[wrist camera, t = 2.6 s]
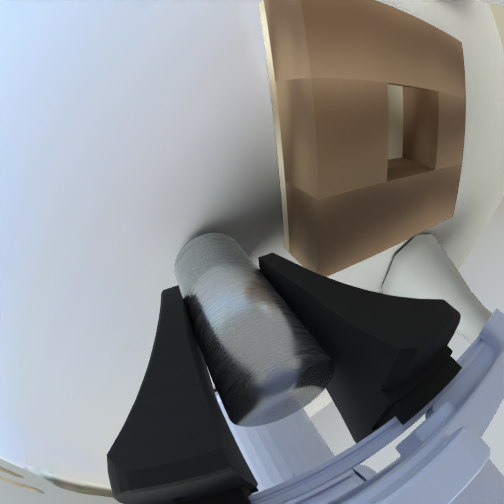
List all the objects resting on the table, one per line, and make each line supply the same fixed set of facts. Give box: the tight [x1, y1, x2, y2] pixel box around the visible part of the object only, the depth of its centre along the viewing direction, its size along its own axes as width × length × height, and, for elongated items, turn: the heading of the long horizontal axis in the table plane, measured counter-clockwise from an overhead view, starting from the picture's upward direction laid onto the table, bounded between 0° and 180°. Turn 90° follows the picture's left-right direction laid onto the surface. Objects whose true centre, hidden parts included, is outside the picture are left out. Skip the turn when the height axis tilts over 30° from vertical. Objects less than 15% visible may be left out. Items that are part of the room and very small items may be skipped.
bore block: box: [258, 0, 466, 277], centre depth 11 cm, size 12×12×3 cm
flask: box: [382, 234, 492, 344], centre depth 17 cm, size 7×7×10 cm
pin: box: [175, 233, 335, 427], centre depth 9 cm, size 3×3×7 cm
